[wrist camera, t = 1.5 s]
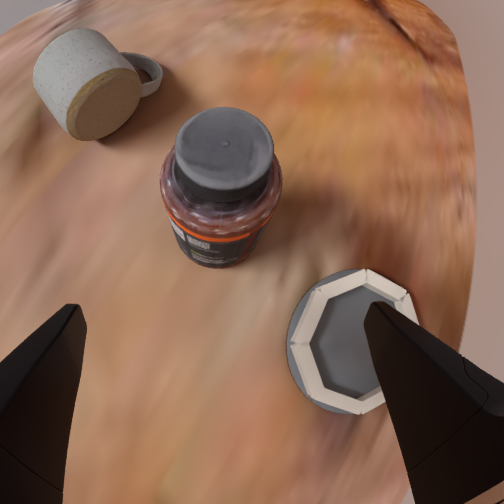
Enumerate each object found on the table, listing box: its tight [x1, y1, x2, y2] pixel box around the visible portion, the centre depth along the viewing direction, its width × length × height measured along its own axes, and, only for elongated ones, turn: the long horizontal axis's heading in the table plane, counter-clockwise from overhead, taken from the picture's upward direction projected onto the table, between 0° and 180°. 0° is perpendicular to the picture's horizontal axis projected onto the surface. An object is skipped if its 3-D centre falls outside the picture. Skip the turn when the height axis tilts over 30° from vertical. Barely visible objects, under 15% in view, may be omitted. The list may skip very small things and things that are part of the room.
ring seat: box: [286, 269, 419, 415], centre depth 21 cm, size 11×11×2 cm
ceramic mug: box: [33, 28, 163, 141], centre depth 20 cm, size 11×8×8 cm
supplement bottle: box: [160, 107, 282, 269], centre depth 17 cm, size 6×6×11 cm
